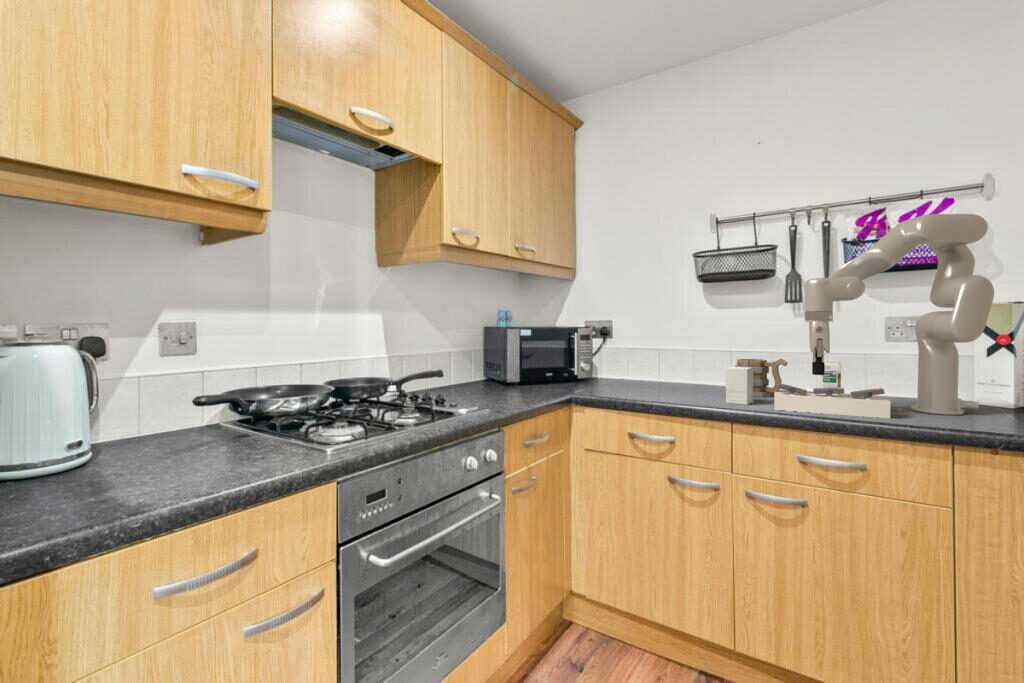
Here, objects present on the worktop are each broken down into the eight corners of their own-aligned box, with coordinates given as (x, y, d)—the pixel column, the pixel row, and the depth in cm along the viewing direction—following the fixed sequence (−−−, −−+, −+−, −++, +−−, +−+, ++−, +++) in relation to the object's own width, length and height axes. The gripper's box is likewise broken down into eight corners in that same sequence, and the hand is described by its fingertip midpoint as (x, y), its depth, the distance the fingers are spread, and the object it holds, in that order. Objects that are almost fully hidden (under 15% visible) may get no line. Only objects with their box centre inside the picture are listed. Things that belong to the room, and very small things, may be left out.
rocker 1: (804, 395, 156) (806, 389, 156) (805, 397, 153) (807, 390, 153) (777, 388, 160) (779, 382, 160) (777, 390, 157) (779, 383, 157)
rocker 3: (883, 394, 146) (881, 387, 147) (885, 395, 143) (883, 388, 143) (851, 398, 150) (850, 391, 150) (853, 400, 147) (851, 393, 147)
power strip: (901, 415, 146) (901, 397, 146) (907, 419, 139) (907, 401, 139) (774, 406, 163) (774, 390, 162) (774, 410, 156) (774, 393, 156)
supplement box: (753, 402, 171) (754, 367, 170) (747, 405, 165) (747, 368, 165) (732, 400, 176) (732, 366, 175) (724, 403, 170) (725, 367, 170)
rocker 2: (843, 394, 151) (842, 387, 151) (844, 395, 148) (844, 388, 148) (813, 394, 155) (813, 387, 155) (814, 396, 152) (813, 389, 152)
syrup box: (821, 404, 167) (821, 362, 167) (819, 401, 172) (819, 361, 172) (840, 405, 164) (841, 363, 164) (838, 402, 170) (839, 361, 169)
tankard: (726, 394, 192) (727, 356, 191) (746, 391, 198) (747, 355, 197) (775, 401, 174) (775, 359, 174) (795, 398, 181) (796, 358, 180)
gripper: (835, 316, 144) (834, 377, 145) (830, 317, 157) (830, 372, 158) (806, 317, 148) (805, 376, 148) (803, 317, 161) (803, 372, 161)
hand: (818, 374), depth 153 cm, fingers closed
